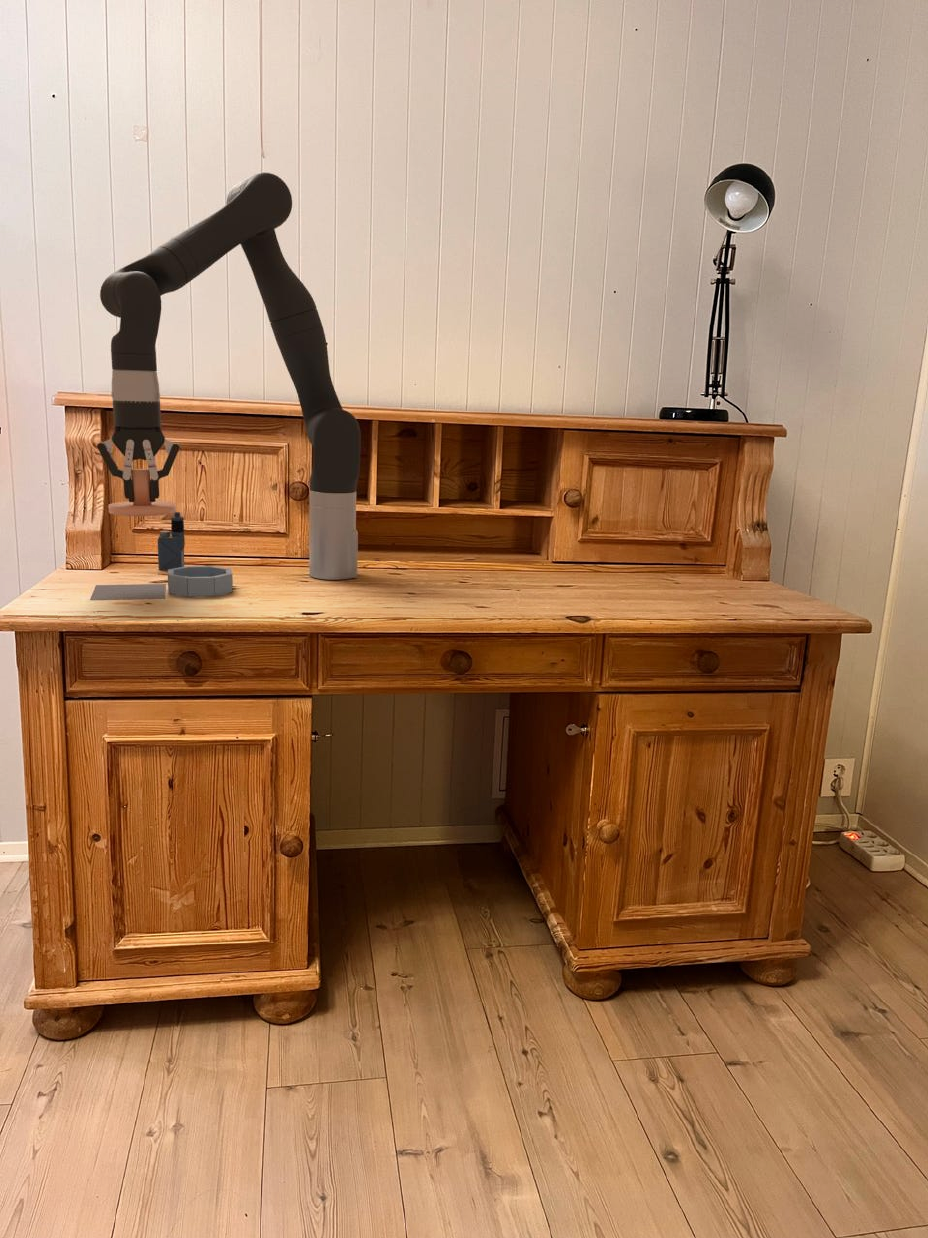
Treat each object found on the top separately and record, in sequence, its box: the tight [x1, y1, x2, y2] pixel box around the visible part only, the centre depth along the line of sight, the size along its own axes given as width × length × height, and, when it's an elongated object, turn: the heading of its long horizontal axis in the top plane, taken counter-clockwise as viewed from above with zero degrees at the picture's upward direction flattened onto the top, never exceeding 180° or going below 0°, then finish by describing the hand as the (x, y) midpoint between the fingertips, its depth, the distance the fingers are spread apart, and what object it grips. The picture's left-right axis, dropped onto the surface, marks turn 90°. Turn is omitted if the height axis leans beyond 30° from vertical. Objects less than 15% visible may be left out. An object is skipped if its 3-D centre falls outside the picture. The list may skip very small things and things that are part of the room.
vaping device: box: [157, 511, 186, 572], centre depth 177 cm, size 3×5×12 cm, turn 89°
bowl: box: [167, 565, 234, 598], centre depth 161 cm, size 11×11×4 cm
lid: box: [107, 468, 177, 517], centre depth 154 cm, size 11×11×7 cm
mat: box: [89, 583, 167, 601], centre depth 158 cm, size 12×12×1 cm
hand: (142, 501), depth 155 cm, fingers closed on lid, 3 cm apart
